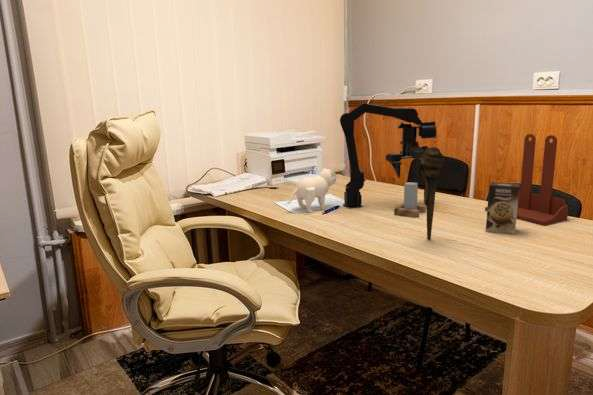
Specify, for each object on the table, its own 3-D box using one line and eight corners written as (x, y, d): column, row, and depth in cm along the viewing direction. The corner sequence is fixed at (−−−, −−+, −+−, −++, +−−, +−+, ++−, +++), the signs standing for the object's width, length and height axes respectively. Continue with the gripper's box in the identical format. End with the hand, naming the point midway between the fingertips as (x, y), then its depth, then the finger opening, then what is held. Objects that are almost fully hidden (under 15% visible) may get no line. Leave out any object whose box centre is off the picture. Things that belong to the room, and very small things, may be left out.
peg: (403, 213, 168) (404, 183, 165) (406, 211, 171) (407, 182, 169) (413, 214, 166) (414, 184, 163) (416, 212, 169) (417, 183, 166)
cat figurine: (291, 216, 171) (289, 175, 167) (281, 210, 180) (279, 171, 176) (344, 207, 181) (344, 169, 177) (332, 202, 190) (332, 165, 186)
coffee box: (485, 231, 143) (488, 184, 139) (486, 226, 149) (489, 181, 145) (515, 234, 139) (519, 186, 135) (515, 229, 144) (519, 182, 141)
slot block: (394, 215, 167) (394, 208, 166) (403, 208, 175) (404, 202, 175) (416, 217, 162) (416, 211, 161) (425, 211, 170) (425, 205, 170)
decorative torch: (423, 235, 142) (426, 145, 135) (443, 238, 138) (447, 146, 131) (414, 240, 137) (417, 148, 130) (435, 244, 133) (439, 149, 126)
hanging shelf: (484, 211, 168) (489, 135, 161) (507, 206, 173) (513, 132, 166) (543, 226, 147) (552, 139, 140) (567, 220, 152) (576, 136, 145)
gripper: (400, 142, 163) (399, 182, 167) (441, 139, 169) (439, 177, 172) (385, 140, 173) (384, 177, 177) (424, 137, 179) (423, 173, 183)
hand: (408, 176), depth 177 cm, fingers open, 9 cm apart
